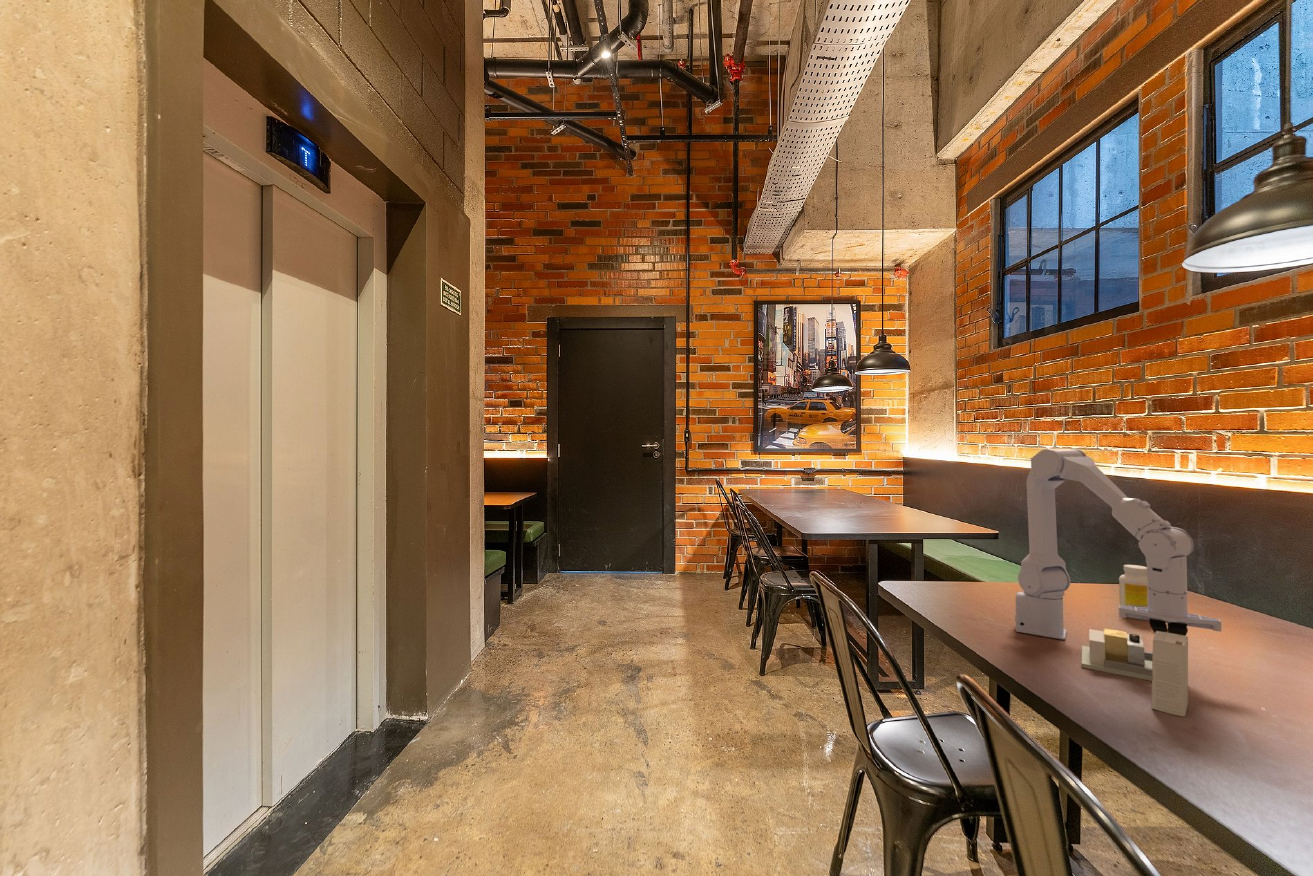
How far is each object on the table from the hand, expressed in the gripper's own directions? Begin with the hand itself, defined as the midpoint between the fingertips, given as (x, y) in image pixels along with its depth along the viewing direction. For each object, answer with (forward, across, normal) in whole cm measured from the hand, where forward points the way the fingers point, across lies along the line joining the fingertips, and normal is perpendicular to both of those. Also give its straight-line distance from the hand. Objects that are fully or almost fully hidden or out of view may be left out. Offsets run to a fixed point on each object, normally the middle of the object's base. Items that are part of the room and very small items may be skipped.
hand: (1168, 660), depth 106 cm
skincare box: (+3, -1, -18) cm, 19 cm away
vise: (+3, -6, 0) cm, 7 cm away
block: (+2, -8, 0) cm, 8 cm away
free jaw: (+1, -5, 0) cm, 5 cm away
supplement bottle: (+3, -2, +42) cm, 42 cm away
